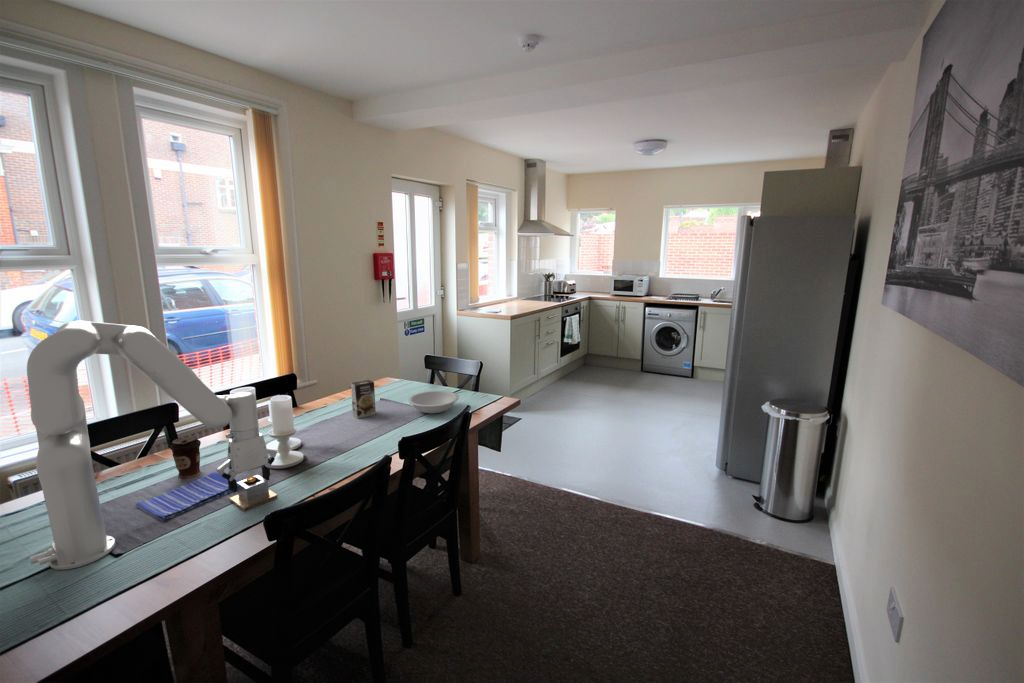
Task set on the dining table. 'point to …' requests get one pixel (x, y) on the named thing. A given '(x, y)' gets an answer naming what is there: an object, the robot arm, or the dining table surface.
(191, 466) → the coffee cup
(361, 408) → the coffee box
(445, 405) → the soup bowl
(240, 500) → the post
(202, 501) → the dish towel
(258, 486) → the white box block
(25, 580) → the dining table surface
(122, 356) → the robot arm
